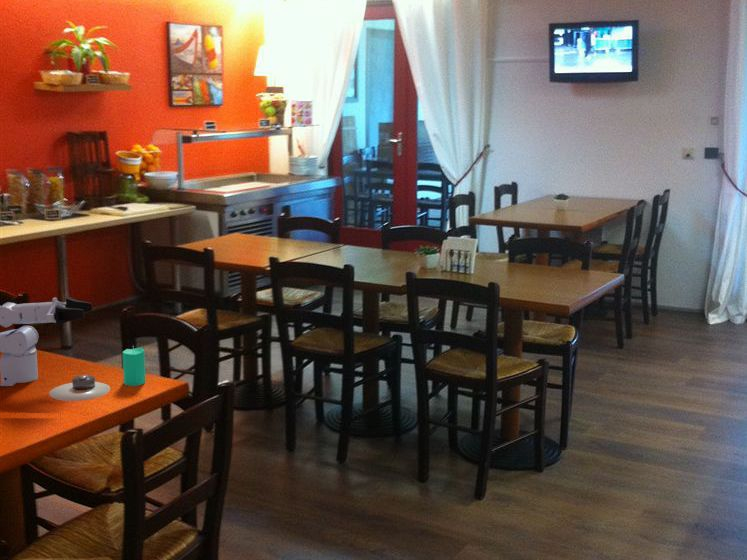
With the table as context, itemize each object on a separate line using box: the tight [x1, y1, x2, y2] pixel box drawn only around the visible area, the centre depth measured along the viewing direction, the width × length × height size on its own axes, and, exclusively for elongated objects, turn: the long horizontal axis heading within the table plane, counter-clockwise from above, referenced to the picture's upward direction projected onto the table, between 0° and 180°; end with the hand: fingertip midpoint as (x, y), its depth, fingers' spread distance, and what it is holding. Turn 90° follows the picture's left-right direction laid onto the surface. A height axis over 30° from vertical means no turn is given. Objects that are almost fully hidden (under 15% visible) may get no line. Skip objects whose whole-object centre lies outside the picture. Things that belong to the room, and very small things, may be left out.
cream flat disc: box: [48, 381, 111, 402], centre depth 247 cm, size 16×16×1 cm
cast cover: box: [71, 374, 96, 390], centre depth 250 cm, size 6×6×3 cm
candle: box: [122, 346, 146, 387], centre depth 254 cm, size 6×6×12 cm
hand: (87, 310), depth 253 cm, fingers open, 7 cm apart
